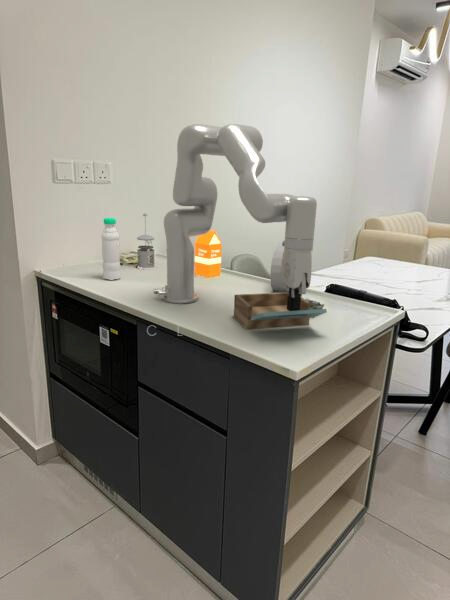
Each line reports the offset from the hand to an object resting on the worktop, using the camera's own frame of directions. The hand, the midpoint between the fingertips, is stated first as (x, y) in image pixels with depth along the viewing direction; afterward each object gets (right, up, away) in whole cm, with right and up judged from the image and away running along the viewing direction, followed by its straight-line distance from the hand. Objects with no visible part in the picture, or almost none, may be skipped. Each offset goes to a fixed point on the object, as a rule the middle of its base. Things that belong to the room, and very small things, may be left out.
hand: (293, 310), depth 123 cm
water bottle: (-66, +11, +62) cm, 91 cm away
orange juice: (-27, +13, +73) cm, 79 cm away
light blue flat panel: (-2, -2, +8) cm, 9 cm away
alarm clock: (+6, +7, +56) cm, 57 cm away
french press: (-56, +18, +87) cm, 105 cm away
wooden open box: (-4, -4, +16) cm, 17 cm away
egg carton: (+9, -2, +25) cm, 27 cm away
